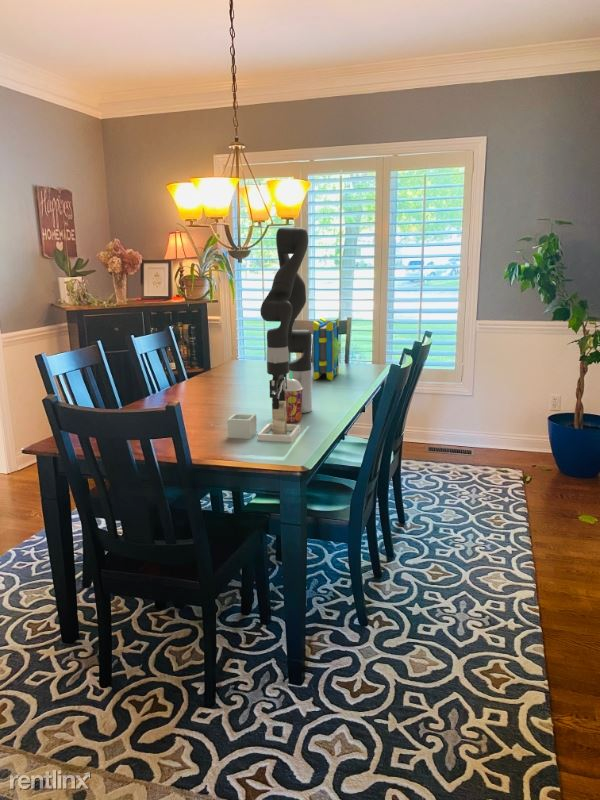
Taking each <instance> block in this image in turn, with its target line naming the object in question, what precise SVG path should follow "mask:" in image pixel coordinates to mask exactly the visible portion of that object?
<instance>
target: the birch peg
mask: <svg viewBox="0 0 600 800" xmlns="http://www.w3.org/2000/svg"><path fill="white" fill-rule="evenodd" d="M271 409H272V410H271V412H272V413H271V415H272V416H271V417H272V419H271V420H272V423H273V430H272V434H277V435H288V433H287V431H288V430H287V428H286V424H287V422H286V401H279V409H273V408H272V407H271Z"/></svg>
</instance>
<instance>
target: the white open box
mask: <svg viewBox="0 0 600 800" xmlns="http://www.w3.org/2000/svg"><path fill="white" fill-rule="evenodd" d="M226 422H227V423H226V424H227V425H226V426H227V437H228V439H229V438H231V439H247V440H250V439H251V438H252V437H253V436H254V435H256V434H257V432H258V426H257V414H252V413H234V414H232V415H231V416H230V417H228V418H227V420H226Z"/></svg>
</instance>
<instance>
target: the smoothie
mask: <svg viewBox="0 0 600 800" xmlns="http://www.w3.org/2000/svg"><path fill="white" fill-rule="evenodd" d="M302 392H303V387H302V386H301V384H300V382H299V381H298V380H296V379H293V378H292V371H291V378H290V379H289V378H287V389H286V392H285V401H286V423H287V424H288V423H290V424H294V423H299V422H301V420H302V414H303V413H302Z"/></svg>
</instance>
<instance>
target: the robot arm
mask: <svg viewBox="0 0 600 800" xmlns="http://www.w3.org/2000/svg"><path fill="white" fill-rule="evenodd" d="M275 240H276V241H275V243H276V250H277V251H276V253H277V256H278V257H277V259H278V263H279V264H278V266H279V269H278V270H277V271H276V273H275V275H274V278H273V281H272V286H271V288H270V291H269V292H268V294H267V296H266V297H265V298H264V299H263V302H262V303H261V305H260V317H261V318H262V319H263V320H264V321H265V322H274V323H275V322H278V323H279V322H280V325H279V326H278V327H274V328H269V329H268V330H267V332H266V373H267V374H268V375H270V376H271V375H272V379H271V380H269V381H268V382H269V398H271V409H272V408H273V409H279V401H285V392H286V389H287V379H290V378H291V371H292V378H293V379H296V380H298V381H299V382H300V384H301V386H302V387H303V392H302V413H301V414H303V413H309V412H312V410H313V408H312V406H313V401H312V400H313V397H312V393H313V392H312V389H313V388H312V346H313V345H312V343H313V342H312V341H313V338H312V332H311V330H310V329H293V326H294V324H295V322H296V320H297V317H298V316H299V315H300V314H301V312H302V310H303V308H304V307H305V305H306V302H307V293H306V291H307V290H306V284H305V282H304V280H303V278H302V277H301V275H300V274H299V269H300V267H301V265H302V263H303V260H304V258H305V255H306V252H307V250H308V245H309V233H308V230H307V229H306V228H304V227H287V226H283V227H282V226H281V227H279V228H278V229H277V231H276V238H275ZM290 255H291V256H290ZM289 353H290V354H296V353H297V354H303V355H302V356H301V357H299V358H297V359H294V360H292V361H290V354H289ZM287 375H288V378H287Z"/></svg>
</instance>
